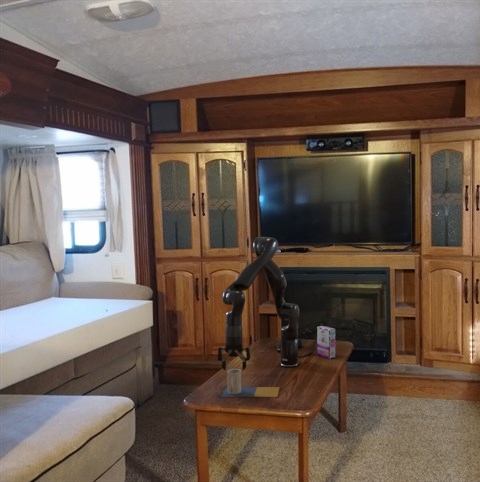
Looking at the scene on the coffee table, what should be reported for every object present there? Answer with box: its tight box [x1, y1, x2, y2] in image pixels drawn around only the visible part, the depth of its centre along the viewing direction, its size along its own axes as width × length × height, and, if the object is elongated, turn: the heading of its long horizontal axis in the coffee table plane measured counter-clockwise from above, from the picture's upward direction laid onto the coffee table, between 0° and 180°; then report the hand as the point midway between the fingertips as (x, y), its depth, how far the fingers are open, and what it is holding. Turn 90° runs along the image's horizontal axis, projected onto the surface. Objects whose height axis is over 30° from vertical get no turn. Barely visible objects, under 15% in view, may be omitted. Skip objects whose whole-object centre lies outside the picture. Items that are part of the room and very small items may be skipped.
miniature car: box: [276, 338, 303, 352], centre depth 263 cm, size 9×18×8 cm, turn 156°
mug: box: [226, 368, 242, 394], centre depth 196 cm, size 9×6×10 cm
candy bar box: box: [316, 325, 337, 360], centre depth 250 cm, size 11×5×16 cm, turn 41°
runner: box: [220, 386, 281, 398], centre depth 197 cm, size 11×25×1 cm, turn 90°
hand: (234, 369), depth 197 cm, fingers open, 8 cm apart
